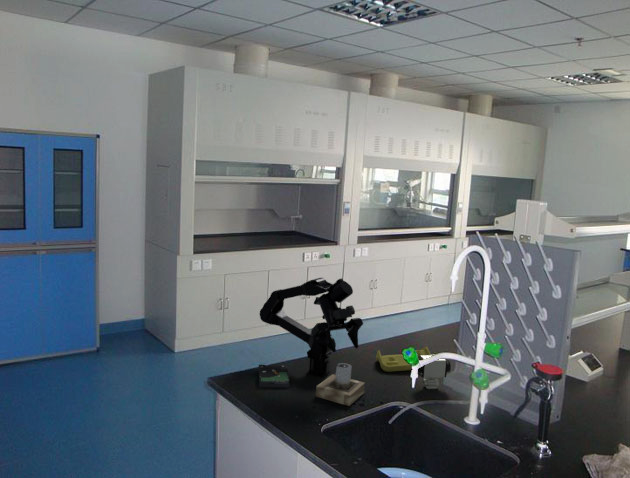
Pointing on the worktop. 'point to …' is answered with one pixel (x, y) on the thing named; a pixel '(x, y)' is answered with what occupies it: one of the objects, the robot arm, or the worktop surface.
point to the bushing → (343, 376)
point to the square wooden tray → (339, 391)
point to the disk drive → (273, 376)
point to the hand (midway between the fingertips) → (346, 349)
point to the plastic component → (397, 361)
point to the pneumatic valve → (433, 371)
